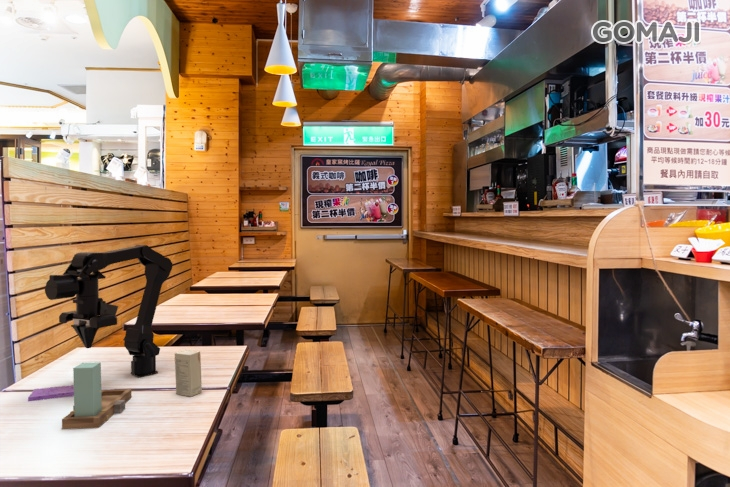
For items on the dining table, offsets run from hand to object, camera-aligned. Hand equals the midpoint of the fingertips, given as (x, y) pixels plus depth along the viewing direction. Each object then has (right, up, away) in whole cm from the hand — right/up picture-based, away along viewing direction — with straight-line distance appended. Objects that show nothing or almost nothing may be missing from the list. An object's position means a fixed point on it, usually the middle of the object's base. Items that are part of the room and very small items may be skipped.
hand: (88, 347), depth 136 cm
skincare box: (+30, -13, -1) cm, 33 cm away
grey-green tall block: (+12, -13, -21) cm, 27 cm away
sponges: (-8, -14, -2) cm, 16 cm away
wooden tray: (+12, -14, -15) cm, 23 cm away
